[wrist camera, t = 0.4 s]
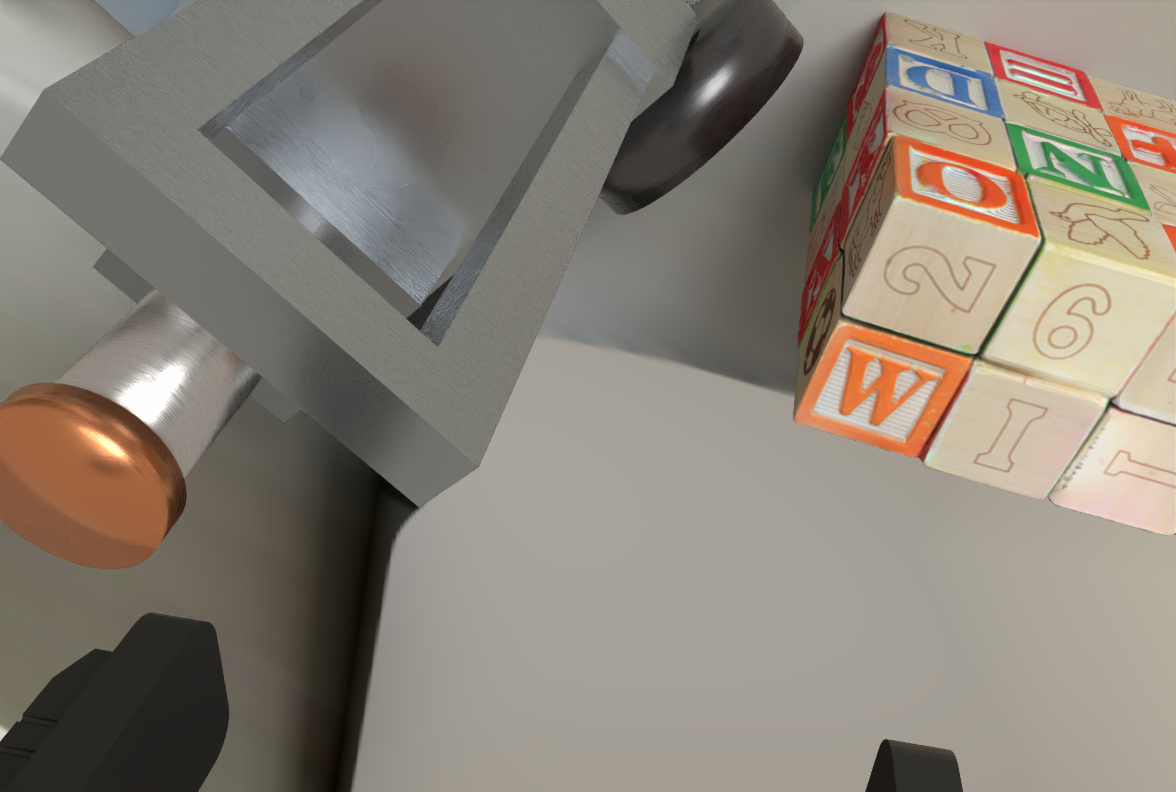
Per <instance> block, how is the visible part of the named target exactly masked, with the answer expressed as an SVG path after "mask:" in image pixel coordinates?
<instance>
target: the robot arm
mask: <svg viewBox="0 0 1176 792" xmlns="http://www.w3.org/2000/svg"><path fill="white" fill-rule="evenodd" d="M228 721H229V705H228V699H227V693H226V687H225V681H224V675H223V669H222V663H221V658H220V652H219V646H218V640H217V634H216V630H215V628H214V626H213V625H212V624H211V623H209V622H205V621H199V620H193V619H187V618H181V617H175V616H169V615H163V614H157V613H148V614H145V615H144V616H142V617H141V618H140V619H139V620H138V621H137V622H136V623H135V624H134V625H133V627H132V628H131V629H130V631H129V632H128V633H127V634H126V636H125V637H124V638H123V640H122V641H121V642H120V643H119V645H118V646H117V647H116V649H115V650H114V651H113V652H111V651H105V650H99V649H94V650H93V651H91V652H90V653H88V654H87V655H85V656H84V657H82V658H81V659H79V660H78V661H76V662H75V663H74V664H72V665H71V666H69V667H68V668H66V669H65V670H63V671H62V672H60V673H59V674H58V675H56V676H55V677H53V678H52V679H51V681H50V682H49V683H48V684H47V685H46V687H45V688H44V689H43V690H42V691H41V693H40V694H39V695H38V696H37V698H36V699H35V700H34V701H33V702H32V704H31V705H30V706H29V707H28V708H27V710H26V711H25V712H24V713H23V718H22V720H21V721H20V722H16V723H15V724H14V725H13V727H12V728H11V729H10V730H9V732H8V733H7V734H6V735H5V736H4V738H3V739H2V740H1V741H0V792H198V791H199V789H200V788H201V786H202V784H203V782H204V781H205V779H206V777H207V776H208V774H209V772H210V770H211V769H212V767H213V765H214V764H215V762H216V760H217V758H218V756H219V754H220V751H221V749H222V746H223V743H224V740H225V737H226V732H227V728H228ZM865 792H963V789H962V784H961V778H960V773H959V768H958V763H957V760H956V757H955V755H954V753H953V752H952V751H951V750H946V749H941V748H935V747H929V746H923V745H917V744H911V743H905V742H899V741H893V740H888V739H885V740H883V742H882V743H881V745H880V747H879V750H878V753H877V757H876V759H875V763H874V766H873V769H872V772H871V775H870V779H869V782H868V785H867V788H866V791H865Z"/></svg>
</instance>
